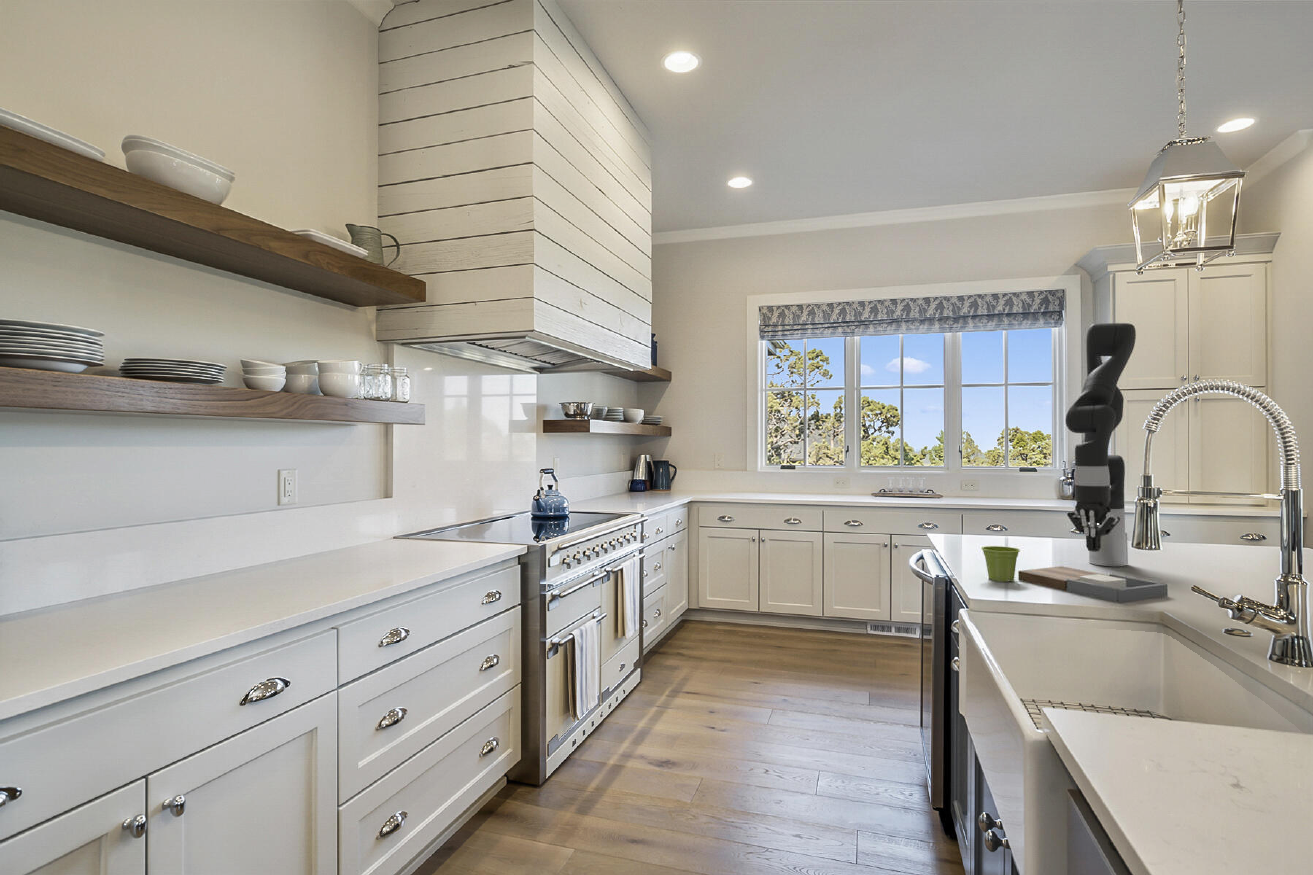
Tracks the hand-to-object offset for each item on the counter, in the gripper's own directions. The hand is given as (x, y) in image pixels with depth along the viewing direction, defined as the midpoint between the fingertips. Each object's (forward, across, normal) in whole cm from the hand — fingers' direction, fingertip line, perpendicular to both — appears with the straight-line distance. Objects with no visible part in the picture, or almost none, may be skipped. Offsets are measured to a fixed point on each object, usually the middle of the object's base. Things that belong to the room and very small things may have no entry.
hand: (1093, 550), depth 166 cm
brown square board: (+10, +8, 0) cm, 13 cm away
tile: (+9, -2, 0) cm, 9 cm away
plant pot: (+10, +18, +12) cm, 24 cm away
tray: (+10, -6, 0) cm, 11 cm away
